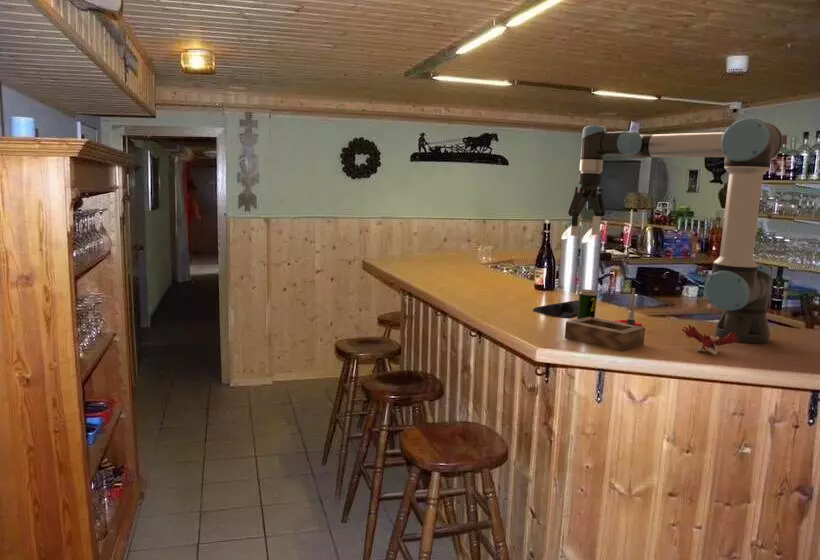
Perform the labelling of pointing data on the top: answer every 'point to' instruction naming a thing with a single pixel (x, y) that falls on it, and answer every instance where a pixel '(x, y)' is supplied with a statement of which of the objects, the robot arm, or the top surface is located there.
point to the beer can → (587, 303)
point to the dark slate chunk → (559, 309)
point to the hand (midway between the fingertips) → (585, 235)
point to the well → (605, 333)
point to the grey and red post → (631, 313)
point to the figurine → (710, 339)
